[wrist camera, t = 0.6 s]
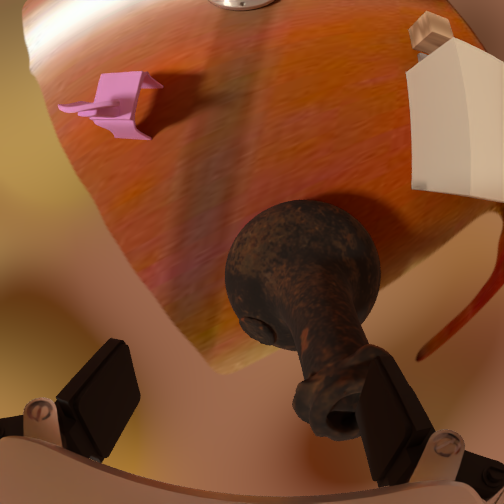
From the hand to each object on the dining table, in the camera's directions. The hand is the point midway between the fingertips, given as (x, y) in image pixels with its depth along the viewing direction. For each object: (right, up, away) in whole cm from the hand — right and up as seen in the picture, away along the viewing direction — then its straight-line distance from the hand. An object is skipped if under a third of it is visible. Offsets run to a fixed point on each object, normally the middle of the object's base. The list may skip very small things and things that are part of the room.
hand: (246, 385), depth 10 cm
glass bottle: (+7, +4, +29) cm, 30 cm away
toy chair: (-16, +25, +25) cm, 39 cm away
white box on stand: (+30, +22, +22) cm, 43 cm away
